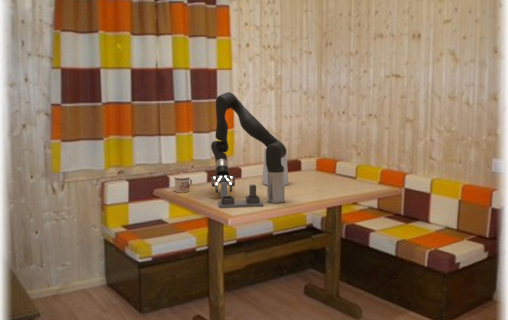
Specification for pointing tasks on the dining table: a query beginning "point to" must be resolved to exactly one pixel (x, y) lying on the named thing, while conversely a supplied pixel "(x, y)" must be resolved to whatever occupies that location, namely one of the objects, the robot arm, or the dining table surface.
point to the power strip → (250, 200)
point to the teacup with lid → (182, 183)
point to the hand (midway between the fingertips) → (224, 191)
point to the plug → (223, 189)
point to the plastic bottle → (284, 164)
